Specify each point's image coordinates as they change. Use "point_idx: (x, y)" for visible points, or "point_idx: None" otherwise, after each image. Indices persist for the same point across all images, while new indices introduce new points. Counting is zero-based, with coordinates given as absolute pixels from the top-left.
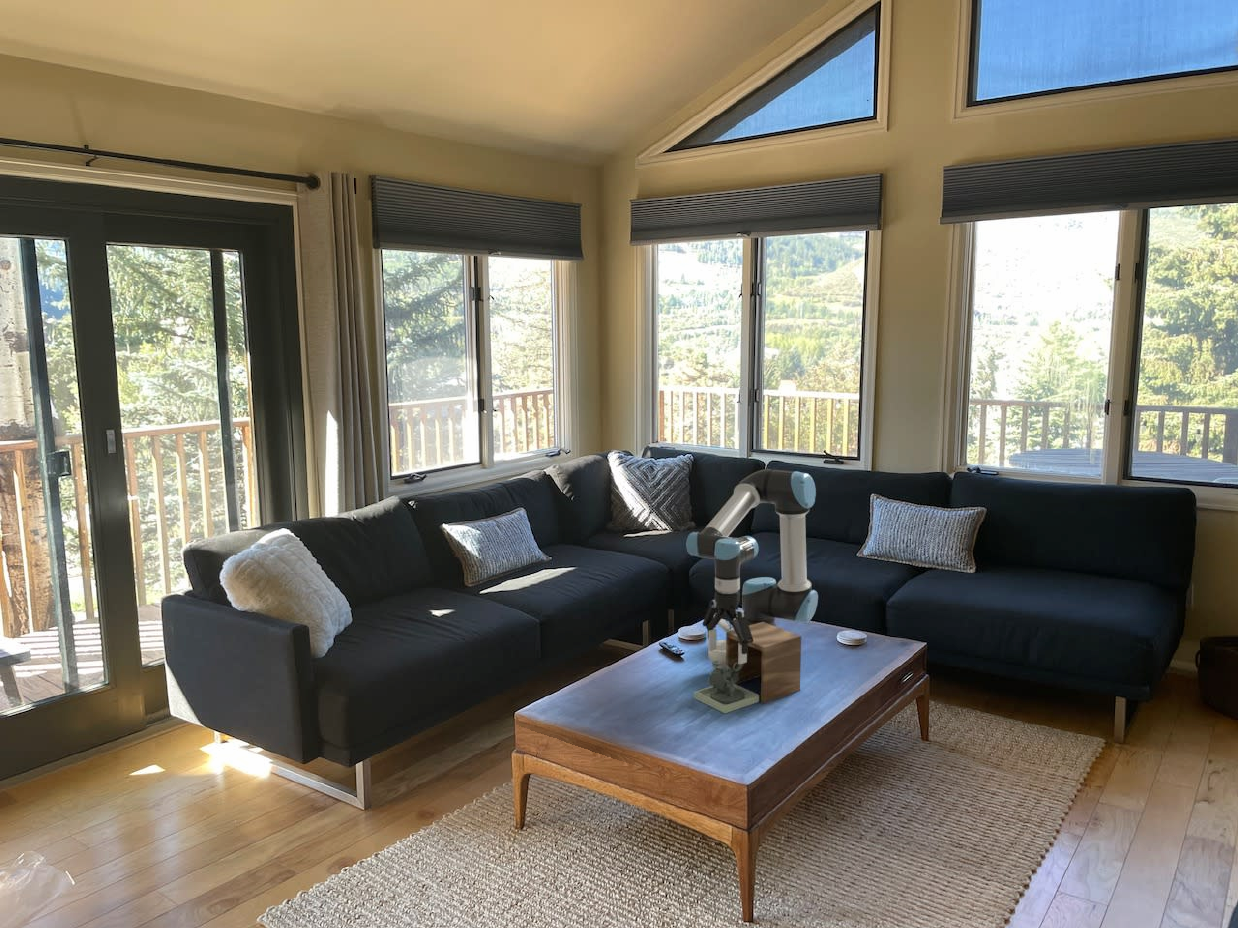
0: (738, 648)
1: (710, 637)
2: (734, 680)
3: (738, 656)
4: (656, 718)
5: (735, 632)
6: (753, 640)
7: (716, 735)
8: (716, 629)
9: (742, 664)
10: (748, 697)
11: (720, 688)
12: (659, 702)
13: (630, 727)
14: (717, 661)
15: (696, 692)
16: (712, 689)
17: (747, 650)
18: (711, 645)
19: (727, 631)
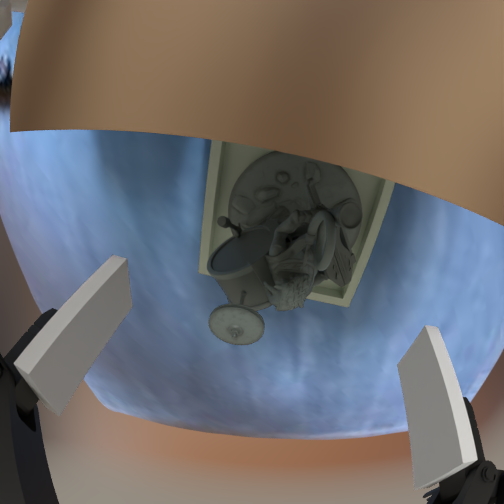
0: (412, 453)
1: (83, 372)
2: (347, 273)
3: (405, 403)
4: (227, 379)
5: (58, 49)
6: (467, 124)
7: (378, 375)
8: (30, 372)
9: (349, 207)
10: (380, 199)
11: (240, 191)
12: (167, 325)
13: (223, 410)
14: (238, 333)
15: (207, 274)
16: (216, 203)
17: (471, 417)
18: (113, 320)
19: (10, 20)
